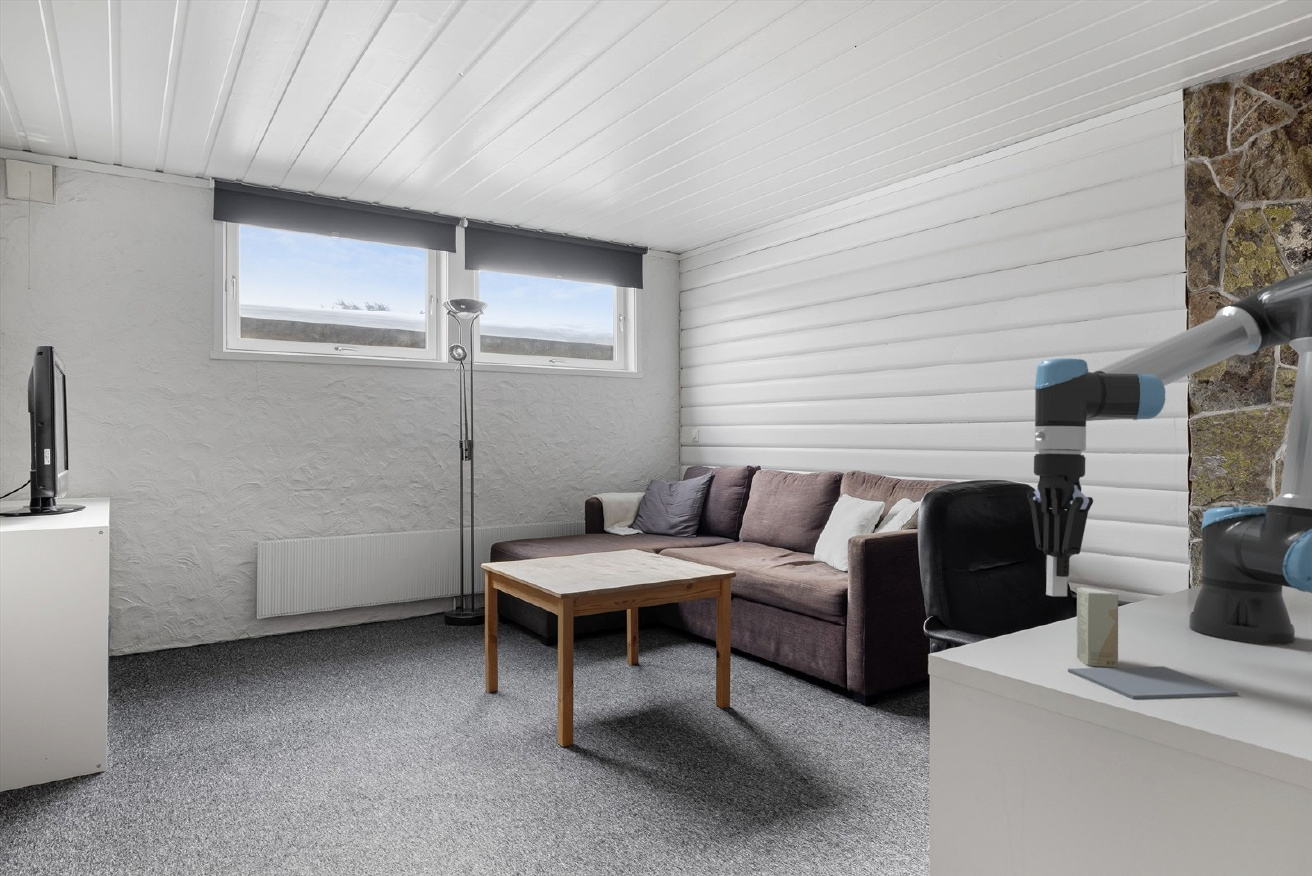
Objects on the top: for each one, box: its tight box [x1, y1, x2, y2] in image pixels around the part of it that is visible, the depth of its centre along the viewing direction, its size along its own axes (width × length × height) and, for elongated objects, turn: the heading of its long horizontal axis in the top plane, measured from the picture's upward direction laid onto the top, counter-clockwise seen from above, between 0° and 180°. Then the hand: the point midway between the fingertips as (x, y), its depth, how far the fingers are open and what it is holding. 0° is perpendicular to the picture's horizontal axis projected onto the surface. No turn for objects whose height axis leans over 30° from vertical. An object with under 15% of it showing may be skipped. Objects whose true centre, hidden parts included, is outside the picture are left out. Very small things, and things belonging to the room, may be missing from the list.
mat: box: [1067, 665, 1239, 700], centre depth 105 cm, size 16×12×1 cm
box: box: [1076, 587, 1119, 668], centre depth 115 cm, size 5×4×11 cm
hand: (1056, 595), depth 124 cm, fingers closed
